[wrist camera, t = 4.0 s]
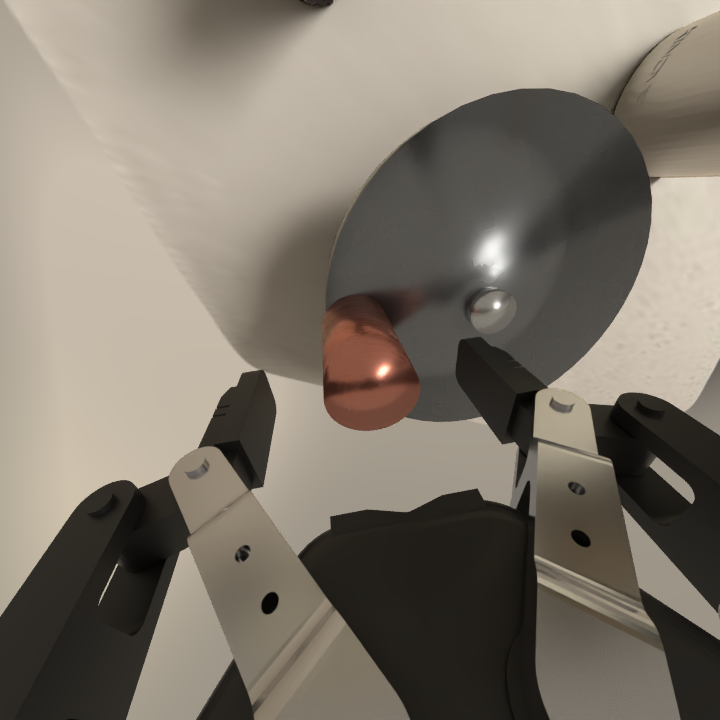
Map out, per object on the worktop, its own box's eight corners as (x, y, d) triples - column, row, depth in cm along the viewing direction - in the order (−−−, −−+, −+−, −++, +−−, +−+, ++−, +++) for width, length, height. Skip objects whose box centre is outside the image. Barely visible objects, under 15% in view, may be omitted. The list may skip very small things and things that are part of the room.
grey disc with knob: (691, 78, 12) (1084, -35, 6) (565, 388, 22) (663, 468, 16) (284, 121, 11) (240, 40, 5) (342, 425, 21) (352, 525, 15)
